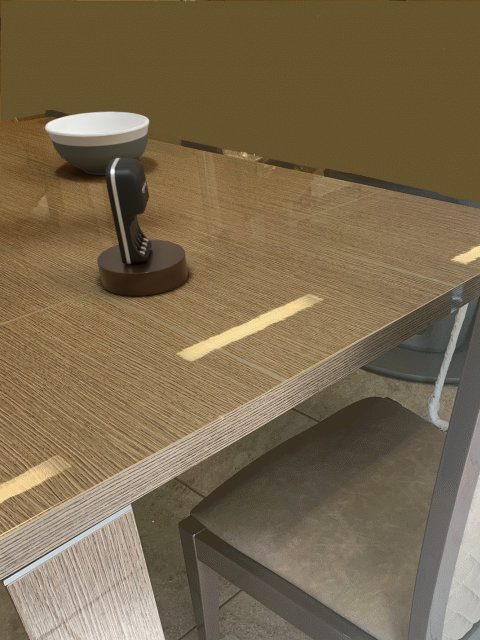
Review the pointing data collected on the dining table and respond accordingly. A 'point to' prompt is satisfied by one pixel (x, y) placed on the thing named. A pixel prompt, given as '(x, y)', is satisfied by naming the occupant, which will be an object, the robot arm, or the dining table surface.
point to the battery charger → (128, 207)
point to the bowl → (98, 138)
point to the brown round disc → (144, 270)
